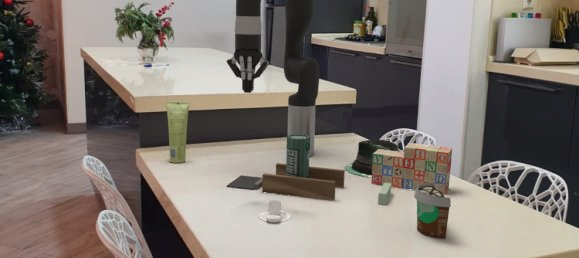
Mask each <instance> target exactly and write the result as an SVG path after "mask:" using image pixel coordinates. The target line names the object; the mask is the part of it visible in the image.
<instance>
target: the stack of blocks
mask: <svg viewBox="0 0 579 258" xmlns="http://www.w3.org/2000/svg"><path fill="white" fill-rule="evenodd" d="M403 149H404V151H399V150H398V151H390V150H382V149H378V150H377V151H376V152H374V153H373V160H372V177H371V180H370V182H371V184H372V185H378V184H379V185H380V186H383V184H384V183H392V184H391V186H393V187H392V188H396V187H398V189H403V188H406V189H405V190H409V189H412V190H411V191H416V189H417V187H418V186H419V185H420V184H424V183H432V182H434V187H435V188H436V189H437V190H439V191H441V192H442V194H443V195H444V196H445V195H446V193H447V192H448V191H449V189H450V177H451V169H452V168H451V167H452V155H453V154H452V153H453V148H451V147H443V146H441V145H435V144H423V143H412V142H408V143H407V144H406V146H404V148H403ZM447 190H448V191H447Z"/></svg>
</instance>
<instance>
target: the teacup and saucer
mask: <svg viewBox="0 0 579 258" xmlns="http://www.w3.org/2000/svg"><path fill="white" fill-rule="evenodd" d="M267 203H268V205H267V206H268V210H266V211H262V212H260V213H259V215H258V218H259V219H260V220H262V221H263V220H264V222H267V221H268V223H282V222H287V221H289V220H290V219H291V218H292V215H291V214H290V213H288V211H287V212H286V211H282V201H281V200H277V199H271V200H269V201H268V202H267ZM266 212H269V213H268V215H266V214H265V213H266ZM280 212H284V213H286V214H288V215H287V216H288V217H287V216H286V217H287V218H286V217H285V218H284V219H282V216H281V213H280ZM264 214H265V215H266V216H265V215H264ZM264 216H265V217H264ZM264 218H265V219H264Z"/></svg>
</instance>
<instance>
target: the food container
mask: <svg viewBox="0 0 579 258" xmlns="http://www.w3.org/2000/svg"><path fill="white" fill-rule="evenodd" d="M413 197H414V199H415V200H416V229H417V232H418V233H419V234H421V235H423V236H426V237H428V238H433V239H440V240H441V239H442V240H443V239H446V237H447V232H448V231H447V230H448V223H449V222H448V221H449V215H450V208H451V206H452V204H451V203H452V202H451V197H450V196H449V197H446V196H445V195H443V194H442V192H441V191H439V190H437V189H436V188H435V187H434V182H432V183H424V184H420V185H419V186H418V187H417V189H416V190H414V195H413Z"/></svg>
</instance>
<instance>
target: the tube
mask: <svg viewBox="0 0 579 258" xmlns="http://www.w3.org/2000/svg"><path fill="white" fill-rule="evenodd" d="M165 106H166V115H167V123H168V142H169V143H168V144H169V161H170V162H171V163H174V164H181V163H185V162H186V159H187V158H186V156H187V155H186V153H187V152H186V150H187V133H188V119H189V118H188V117H189V109H190V102H188V101H187V102H186V101H185V102H184V101H167V100H166V101H165Z"/></svg>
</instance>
